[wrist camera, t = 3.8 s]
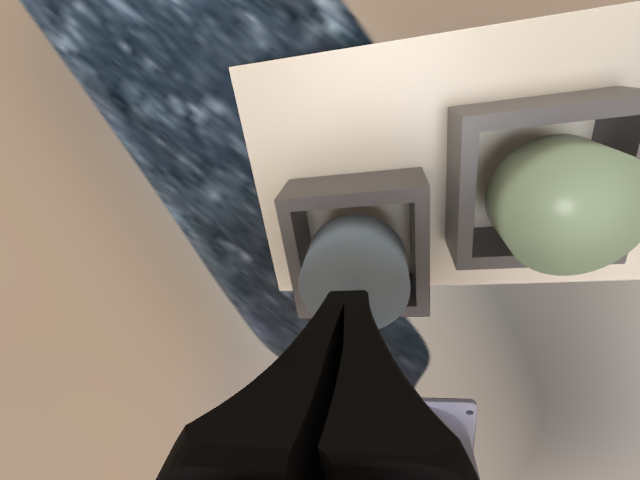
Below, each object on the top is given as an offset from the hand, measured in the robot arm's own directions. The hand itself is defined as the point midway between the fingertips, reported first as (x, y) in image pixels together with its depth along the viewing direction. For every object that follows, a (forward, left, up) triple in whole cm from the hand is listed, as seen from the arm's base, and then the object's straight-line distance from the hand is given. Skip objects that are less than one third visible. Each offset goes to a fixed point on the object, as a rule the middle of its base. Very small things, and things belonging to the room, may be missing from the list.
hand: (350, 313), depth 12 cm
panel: (+2, -8, -9) cm, 12 cm away
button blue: (0, 0, -4) cm, 4 cm away
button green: (+3, -7, -4) cm, 9 cm away
